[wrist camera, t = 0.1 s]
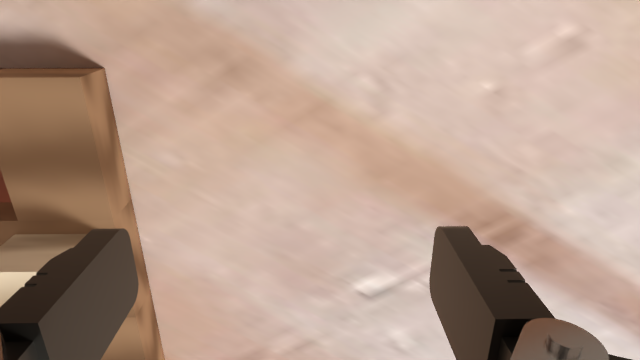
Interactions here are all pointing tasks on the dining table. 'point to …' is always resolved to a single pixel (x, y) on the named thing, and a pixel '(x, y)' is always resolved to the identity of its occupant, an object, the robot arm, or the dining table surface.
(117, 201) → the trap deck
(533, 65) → the dining table surface
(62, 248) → the block
